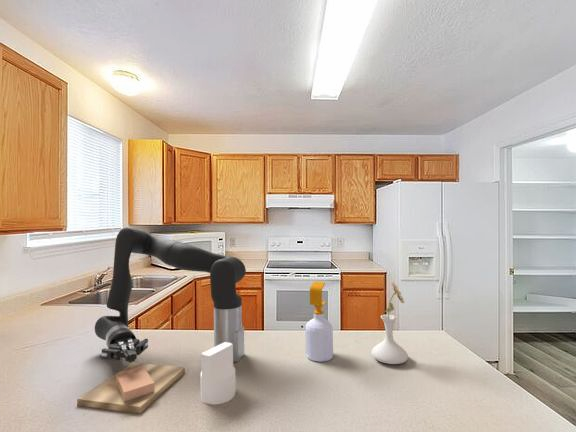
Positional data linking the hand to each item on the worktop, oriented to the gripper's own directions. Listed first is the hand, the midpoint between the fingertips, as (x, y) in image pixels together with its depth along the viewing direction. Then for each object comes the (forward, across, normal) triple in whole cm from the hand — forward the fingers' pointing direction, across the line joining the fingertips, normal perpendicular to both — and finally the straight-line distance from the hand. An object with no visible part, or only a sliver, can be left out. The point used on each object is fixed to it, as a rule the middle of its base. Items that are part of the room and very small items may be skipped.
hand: (132, 358), depth 83 cm
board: (-1, +1, +8) cm, 9 cm away
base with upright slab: (+17, +17, +9) cm, 26 cm away
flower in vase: (+34, +70, +9) cm, 78 cm away
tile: (-4, 0, +6) cm, 7 cm away
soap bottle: (+18, +53, +9) cm, 57 cm away
